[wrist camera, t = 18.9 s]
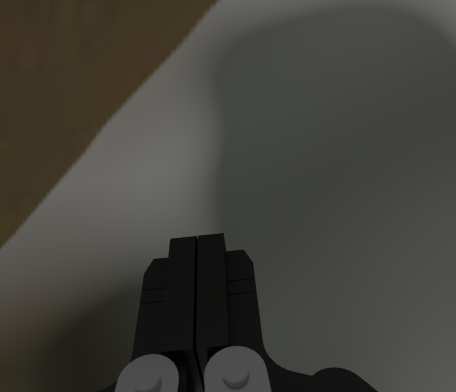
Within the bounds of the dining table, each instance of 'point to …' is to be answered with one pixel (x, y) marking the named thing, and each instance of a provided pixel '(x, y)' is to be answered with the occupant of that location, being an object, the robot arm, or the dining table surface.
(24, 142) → the dining table surface
